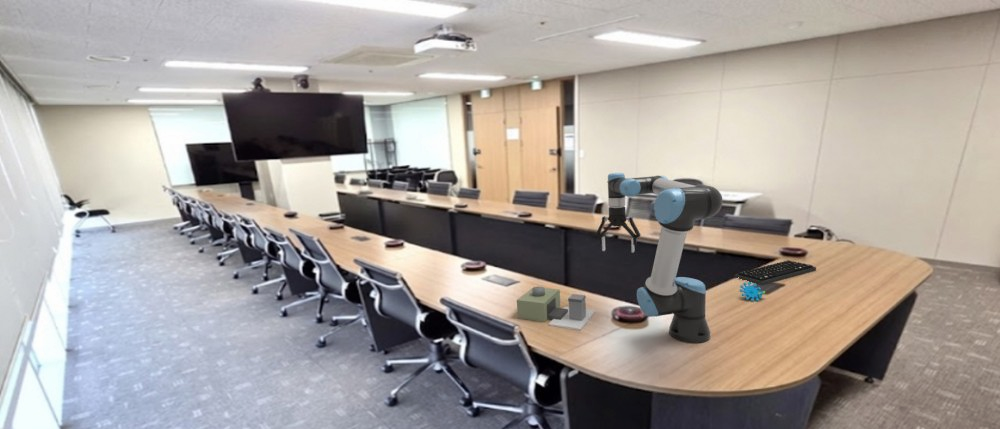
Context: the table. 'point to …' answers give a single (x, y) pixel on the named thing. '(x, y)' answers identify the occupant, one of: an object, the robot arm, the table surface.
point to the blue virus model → (751, 291)
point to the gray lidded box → (577, 307)
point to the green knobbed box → (548, 308)
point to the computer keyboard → (775, 272)
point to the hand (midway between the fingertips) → (618, 251)
